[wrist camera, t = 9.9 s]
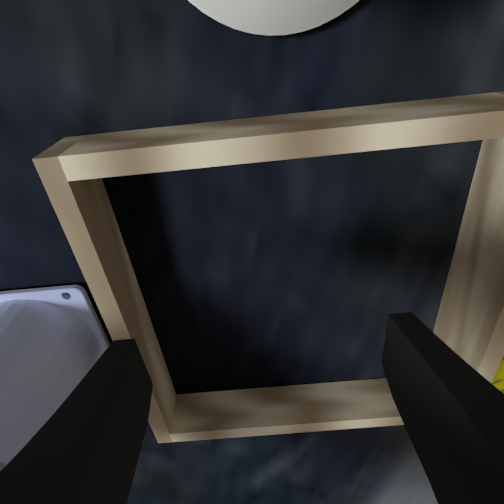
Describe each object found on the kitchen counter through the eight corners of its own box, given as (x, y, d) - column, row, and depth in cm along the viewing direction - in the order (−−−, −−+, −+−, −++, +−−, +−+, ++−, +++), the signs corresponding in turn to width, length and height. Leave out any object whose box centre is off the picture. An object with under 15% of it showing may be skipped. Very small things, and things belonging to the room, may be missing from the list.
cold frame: (166, 403, 27) (153, 466, 23) (65, 137, 16) (10, 173, 12) (433, 382, 26) (465, 443, 22) (518, 89, 15) (609, 112, 12)
